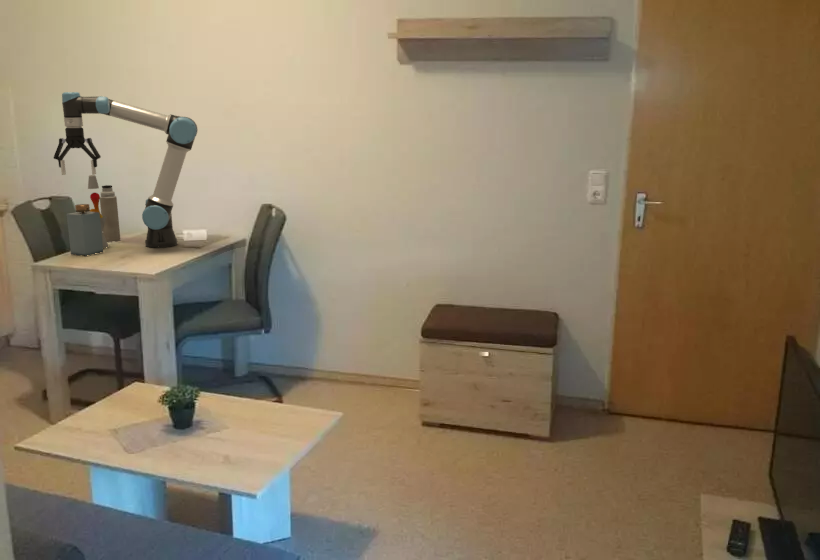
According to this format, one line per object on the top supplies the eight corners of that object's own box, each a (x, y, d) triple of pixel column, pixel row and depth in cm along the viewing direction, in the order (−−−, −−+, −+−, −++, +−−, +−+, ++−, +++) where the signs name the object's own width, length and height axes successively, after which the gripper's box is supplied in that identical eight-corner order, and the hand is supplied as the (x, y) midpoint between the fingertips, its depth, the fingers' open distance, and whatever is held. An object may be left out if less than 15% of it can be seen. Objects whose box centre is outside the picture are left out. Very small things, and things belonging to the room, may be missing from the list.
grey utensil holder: (103, 252, 363) (99, 212, 358) (85, 256, 354) (81, 215, 350) (88, 250, 367) (84, 211, 363) (70, 254, 359) (66, 213, 354)
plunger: (99, 249, 362) (94, 204, 357) (85, 252, 355) (81, 206, 350) (88, 248, 365) (83, 203, 360) (74, 251, 359) (69, 205, 354)
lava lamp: (113, 246, 378) (106, 174, 370) (102, 249, 369) (95, 176, 361) (96, 245, 380) (88, 174, 372) (85, 249, 371) (77, 176, 363)
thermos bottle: (108, 238, 397) (103, 184, 391) (123, 239, 396) (118, 184, 390) (100, 241, 389) (95, 186, 383) (116, 242, 389) (110, 186, 382)
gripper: (42, 127, 343) (47, 175, 348) (99, 127, 344) (103, 175, 349) (49, 127, 350) (54, 174, 355) (105, 126, 351) (109, 173, 356)
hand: (79, 174), depth 352 cm, fingers open, 13 cm apart
